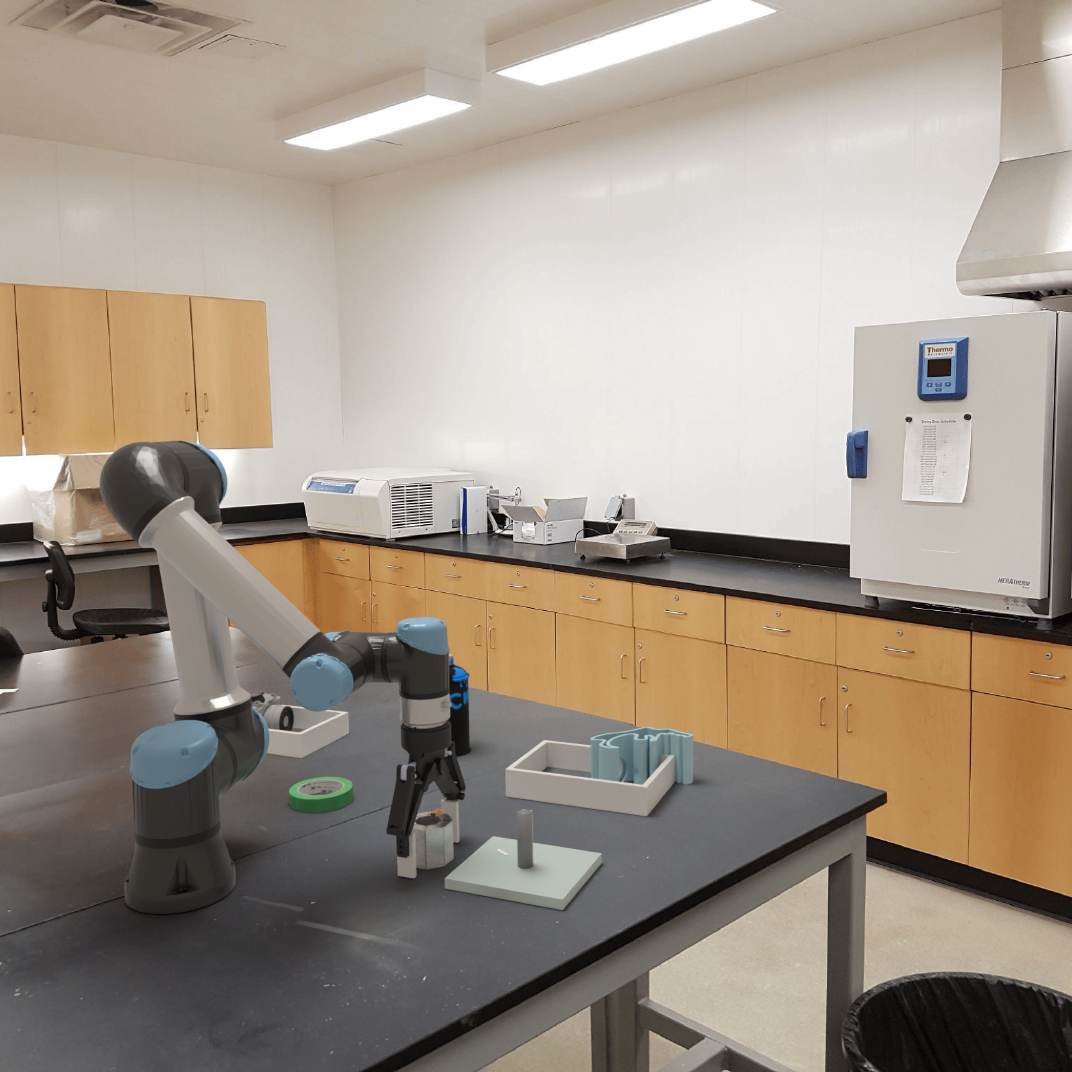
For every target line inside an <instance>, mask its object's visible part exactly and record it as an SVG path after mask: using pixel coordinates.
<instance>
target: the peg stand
mask: <svg viewBox="0 0 1072 1072" xmlns="http://www.w3.org/2000/svg"><path fill="white" fill-rule="evenodd" d="M533 822H534V818H533V810H531V809H524V808H522V809H520V810H518V811H516V839H512V838H507V837H506V838H505V837H501V836H496V835H493V836H491V837H490V838H489V839H488V840H486V842H485V843H483V844H482V845H481V846H480V847H478V849H476V850H475V851H474V852H473V853H472V854H470V855H469V857H467V858H466V859H465V860H464V861H462V863H460V864H459V865H458V866H457V867H456V868H455V869H453V870H452V871H451V872H450V873H449V874H448V875H447V876H445V877H444V889H446V890H450V891H457V892H461V893H468V894H472V895H479V896H483V897H484V896H485V897H487V898H488V897H489V898H494V899H499V900H505V901H511V902H516V903H521V904H526V905H531V906H532V905H533V906H537V907H538V906H539V907H542V908H543V907H544V908H548V909H549V908H550V909H553V910H559V911H563V910H564V909H565V908H566V907H567V906H568V904H569V903H570V902H571V901H572V900H573V898H574V897H576V895H577V894H578V893H579V891H580V890H581V889H582V888H583V886H584V885H585V884H586V883H587V882H588V881H589V880H590V878H591V877H592V875H594V873H595V872H596V871H597V870H598V868H599V867H600V866H601V865H602V864H603V862H602V861H603V857H602V856H603V855H602V852H595V851H588V850H582V849H576V848H570V847H563V846H557V845H550V844H545V843H539V842H534V824H533Z"/></svg>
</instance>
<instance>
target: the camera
mask: <svg viewBox="0 0 1072 1072" xmlns="http://www.w3.org/2000/svg"><path fill="white" fill-rule="evenodd" d="M250 695H251V700H252V706H253V707H254V708H255V709H256V711H257V712H258V713H261V714H262V716H263V717H264V719H265V721H266V723H267V726H268V729H275V730H283V731H291V732H293V729H294V728H293V724H294V713H293V710H292V708H291V707H290V706H291V705H289V706H282V705H283V704H282V702H281V696H279V695H277V693H267V692H264V691H262V690H261V691H256V692H253V693H252V694H250Z"/></svg>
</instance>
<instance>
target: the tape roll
mask: <svg viewBox="0 0 1072 1072" xmlns="http://www.w3.org/2000/svg"><path fill="white" fill-rule="evenodd" d="M318 793H319V794H318ZM321 793H322V794H321ZM323 793H325V794H323ZM326 793H327V794H326ZM317 794H318V795H317ZM288 798H289V799H288V801H289V806H290V807H291V808H292V809H294V811H298V812H302V813H309V814H310V813H313V814H314V813H315V814H317V813H327V812H331V811H336V810H339V809H343V808H345V807H347V806H348V805H350V804H351V803H352V802H353V801H354V786H353V782H352V781H351V780H349V779H347V778H343V777H339V776H338V777H337V776H320V777H319V776H318V777H313V778H312V777H311V778H308V779H305V780H302V781H299V782H297V783H295V784H293V785H292V786H291V787H290V788H289V790H288Z"/></svg>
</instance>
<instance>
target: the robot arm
mask: <svg viewBox="0 0 1072 1072" xmlns="http://www.w3.org/2000/svg"><path fill="white" fill-rule="evenodd" d="M227 491H228V475H227V471H226V469H225V466H224V465H223V462H222V460H221V459H220V458H219V457H218V455H216V454H215V453H214V452H213V451H212V450H211V449H209V448H207V447H206V446H204V445H202V444H200V443H195V442H192V441H191V442H190V441H187V440H182V439H181V440H171V441H152V442H151V441H137V442H132V443H131V442H130V443H129V444H125V445H123V446H121V447H120V448H118V449H116V450H115V451H114V452H113V453H112V454H111V455H109V457H108V458H107V459H106V461H105V463H104V464H103V467H102V470H101V472H100V477H99V492H100V496H101V499H102V501H103V505H104V506H105V508H106V509H107V511H108V513H109V514H110V515H111V517H112V518H113V520H114V521H115V523H117V525H118V526H120V528H121V529H122V530H123V531H124V532H125V533H126V534H127V535H128V537H130V538H131V539H133V541H134V542H136V543H137V544H138V545H139V546H140V547H141V548H142V549H149V548H150V549H151V548H152V549H154V550H155V551H156V554H157V555H156V556H157V560H158V567H159V573H160V577H161V584H162V590H163V594H164V595H163V596H164V601H165V602H164V603H165V606H166V613H167V619H168V626H169V630H170V638H171V643H172V647H173V655H174V659H175V666H176V673H177V677H178V683H179V684H178V685H179V689H180V695H181V697H180V699H179V701H178V703H177V704H176V705H175V706H174V708H173V716H174V721H170V722H166V723H165V724H164V725H156V726H153V727H151V728H150V729H148V730H146V731H144V732H142V733H141V734H140V735H139V736H138V737H137V738H136V739H135V740H134V741H133V743H132V745H131V748H130V762H129V769H128V770H129V775H130V782H131V785H130V786H131V796H132V799H131V800H132V813H133V827H134V848H133V852H132V856H131V859H130V864H129V867H128V872H127V873H128V874H127V875H126V877H125V880H124V888H123V889H124V902H125V903H126V905H127V906H128V907H129V908H130V909H132V910H135V911H136V912H140V913H145V914H155V915H167V914H178V913H185V912H189V911H194V910H197V909H201V908H203V907H208V906H209V905H212V904H215V903H216V902H218V901H220V900H222V899H224V898H225V897H226V896H228V895H229V894H230V893H231V892H232V891H233V890H234V888H235V886H236V883H237V880H236V879H237V876H236V875H237V874H236V866H235V863H234V861H233V859H232V858H231V857H230V854H229V849H228V848H227V844H226V842H225V838H224V836H223V834H222V829H221V828H222V827H221V808H220V807H221V805H220V803H221V802H220V798H221V797H222V796H224V795H225V794H226V793H228V791H230V790H231V789H232V788H234V787H235V786H236V785H237V784H239V783H240V782H242V781H244V780H246V779H247V778H249V777H250V776H251V775H252V774H253V773H254V772H255V771H256V769H257V768H258V767H259V766H260V765H261V764H262V762H263V761H264V759H265V758H266V755H267V754H268V753H267V750H268V746H269V730H268V726H267V723H266V721H265V719H264V717H263V716H262V714H261V713H258V712H257V711H256V709H255V708H254V707H253V706H252V700H251V695H252V694H251V693H250V692H248V691H247V690H245V689H244V688H242V687H241V686H240V685H239V678H238V674H237V673H238V672H237V667H236V661H235V655H234V654H235V653H234V648H233V643H232V637H231V632H230V625H229V621H230V623H232V624H233V625H234V627H236V628H237V629H238V630H239V631H240V632H241V633H242V634H243V635H244V636H245V637H246V638H247V639H248V640H249V641H251V642H252V643H253V645H255V646H256V647H257V648H258V649H259V650H260V651H261V652H262V653H263V654H265V656H266V657H267V658H269V660H271V661H272V662H273V663H274V664H275V665H276V666H277V667H278V668H279V669H280V670H281V671H282V672H283V673H284V674H285V675H286V676H287V677H288V678H289V689H290V691H291V695H292V697H293V699H294V701H295V702H296V703H297V704H298V705H299V707H303V708H305V709H307V710H310V711H315V712H321V711H326V710H332V709H333V708H334V707H336V706H339V705H340V704H341V703H344V702H346V701H347V700H348V698H349V697H350V696H351V695H352V694H353V693H355V692H356V691H358V690H359V689H360V688H362V687H363V686H364V685H365V684H367V683H386V684H393V683H397V684H398V687H399V688H398V691H399V692H398V693H399V720H400V722H402V723H401V725H400V745H401V748H402V749H403V750H404V751H406V752H407V753H408V762H407V764H399V763H398V764H397V766H396V772H395V773H396V774H395V777H396V778H395V779H396V780H395V785H394V789H393V796H392V801H391V806H390V811H389V816H388V821H387V824H386V825H387V826H386V834H387V835H390V836H395V839H396V841H395V842H396V858H397V859H396V860H397V863H396V865H397V876H398V877H404V878H409V879H416V877H417V868H416V845H415V833H412V829H413V826H414V823H415V820H416V816H417V813H419V809H420V807H421V806H420V805H421V803H422V799H423V798H424V794H425V793H427V792H428V790H429V787H430V785H431V784H432V783H433V782H434V784H435V785H436V787H437V788H438V790H439V791H440V793H441V794H442V796H443V799H440V809H442V813H445V814H448V815H449V816H450V818H451V819H452V820H453V843H457V844H458V843H459V842H460V814H459V813H460V812H459V811H460V810H459V801H464V800H465V798H466V793H465V791H466V789H467V787H466V782H465V780H464V776H463V773H462V770H461V767H460V764H459V761H458V757H456V753H455V743H454V741H451V723H450V722H449V721H448V719H449V718H450V707H451V702H450V695H449V692H450V690H449V654H450V651H451V650H450V646H449V640H448V637H449V636H448V628H447V624H446V623H445V621H444V620H442V619H440V618H437V617H430V616H429V617H428V616H421V617H409V618H404V619H402V620H400V621H398V623H397V625H396V630H395V631H392V632H383V631H382V632H379V631H378V632H377V631H376V632H375V631H372V632H371V631H370V632H369V631H350V630H342V631H331V632H326V633H325V634H324V633H323V632H322V631H321V630H320V628H318V627H317V626H316V625H315V624H314V623H313V622H312V621H311V620H310V619H309V618H308V617H307V616H306V615H304V614H303V612H301V611H300V610H299V609H298V608H297V607H296V606H295V605H294V603H292V602H291V601H290V600H289V599H288V598H287V597H286V596H285V595H284V594H283V593H282V592H281V591H280V590H278V589H277V588H276V586H274V585H273V584H272V583H271V582H270V580H268V579H267V578H266V577H265V576H264V575H263V573H261V572H260V571H259V570H258V569H257V568H255V567H254V565H252V563H250V561H248V560H247V559H246V558H245V557H244V556H243V555H242V554H241V553H240V552H239V551H238V550H237V549H236V548H234V546H233V545H232V544H231V543H229V542H228V540H226V539H225V538H224V537H223V536H222V535H221V534H220V533H219V532H218V530H219V529H220V527H221V526H222V524H223V519H222V515H221V509H220V508H221V507H220V506H221V504H222V503H223V500H224V498H225V496H226V495H227ZM445 798H446V799H445Z"/></svg>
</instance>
